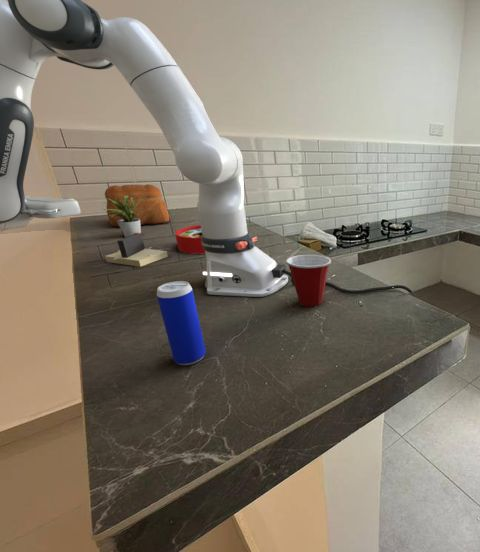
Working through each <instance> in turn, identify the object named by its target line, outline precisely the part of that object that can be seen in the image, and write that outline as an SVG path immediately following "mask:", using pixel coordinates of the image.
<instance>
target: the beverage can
mask: <svg viewBox="0 0 480 552" xmlns="http://www.w3.org/2000/svg"><path fill="white" fill-rule="evenodd" d="M156 298H157V302H158V306H159V309H160V313H161V317H162V321H163V325H164V329H165V332H166V336H167V339H168V344H169V348H170V351H171V355H172V358H173V362H174V363H176V364H177V365H179V366H191V365H194V364H196V363H198V362H201V360H202V359H203V358H204V357H205V356H206V354H207V350H206V346H205V341H204V336H203V333H202V332H203V331H202V328H201V322H200V319H199V314H198V309H197V305H196V300H195V295H194V290H193V288H192V286H191V284H190V283H189V282H188V281H186V280H185V281H184V280H179V281H178V280H176V281H175V280H174V281H170V282H166V283H163V284H161V285H159V286H158V287H157V289H156Z"/></svg>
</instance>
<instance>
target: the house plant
mask: <svg viewBox="0 0 480 552" xmlns="http://www.w3.org/2000/svg"><path fill="white" fill-rule="evenodd" d="M128 197H129V196H128V195H127V196H126V197H125V196H124V200H123V203H124V206H123V204H122V203H121V202H120V201H119V200H118V199H116V198H115V200H116V201H117V202H115V201H113V200H111V199H109V200H111V201H112V202H113V203H114V204H115V207H116V206H117V207H118V209H119V210H117V209H116V208H115V209H107V208H106V209H105V208H103V209H102V210H104V211H107V210H110V211H112V212H115V213H116V214H113V213H112V216H111V215H109V216H111V218H112V217H113V216H115V215H116V216H117V215H118V217H119V216H120V218H121V217H122V218H123V219H122V218H121V219H122V220H118V221H117V222H118V224H119V226H120V227H119V228H120V231H121V232H122V234H123V236H124V238H125V237H128V236H130V235H133V234H134V233H141V234H142V229H141V226H142V225H140V219H136V218H135V216H137V215H134V209H135V207H136V206H137V204H138V203H139V202H140V201H139V202H138V203H137V204H136V205H135V207H134V204H135V202H136V201H135V199H134V202H133V203H132V197H131V201H130V207H128ZM107 199H108V198H107ZM107 199H106V200H107ZM104 204H107V201H104ZM108 205H109V204H108ZM111 205H112V204H111ZM111 205H110V206H111ZM113 206H114V205H113ZM113 206H112V207H113ZM113 208H114V207H113ZM141 210H146V209H141ZM139 211H140V210H139ZM137 212H138V211H137ZM137 212H136V213H137ZM110 213H111V212H110ZM118 213H119V214H118ZM120 213H122V214H123V215H124V216H123V215H122V214H120ZM136 213H135V214H136ZM109 216H108V215H107V217H109Z"/></svg>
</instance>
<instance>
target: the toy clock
mask: <svg viewBox="0 0 480 552" xmlns="http://www.w3.org/2000/svg"><path fill="white" fill-rule="evenodd" d="M174 236H175V239H176V246H177V249H178V251H179V252H181V253H183V254H184V253H185V254H189V255H206V254H205V250H204V249H203V246H202V240H201V236H202V230H201V225H200V224H197V225H192V226H187V227H182V228H180V229H178V230H176V231H175V232H174Z"/></svg>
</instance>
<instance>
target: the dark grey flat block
mask: <svg viewBox="0 0 480 552" xmlns="http://www.w3.org/2000/svg"><path fill="white" fill-rule="evenodd" d="M144 243H145V242H144V240H143V236H142V232H141V233H134V234H133V235H130V236H128V237H125V236H124V237H123V238H120V239H118V240H117V246H118V248H119V249H118V250H119V252H121V255H122V258H128V257H130V256H132V255H134V254H136V253H138V252H140V251H142V250H144V249H146V247H145V244H144Z"/></svg>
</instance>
